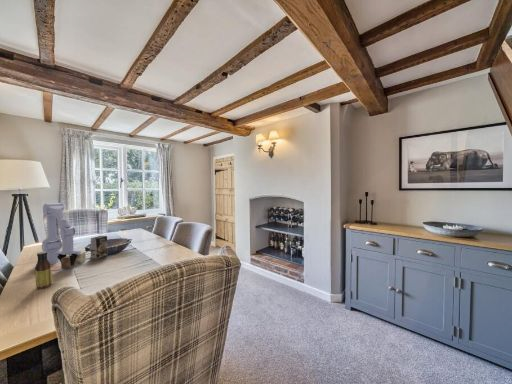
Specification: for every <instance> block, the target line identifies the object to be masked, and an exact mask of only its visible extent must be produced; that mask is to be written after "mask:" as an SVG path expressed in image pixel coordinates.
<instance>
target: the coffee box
mask: <svg viewBox="0 0 512 384" xmlns="http://www.w3.org/2000/svg"><path fill="white" fill-rule="evenodd" d="M103 248H107V249H108V236H107V235H97V236H95V237H91V238H90V259H96V260H97V259H100V258H103V257H105V256H108V253H107V254H106V253H105V252H104V251H102V250H101V249H103Z"/></svg>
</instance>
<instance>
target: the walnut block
mask: <svg viewBox="0 0 512 384" xmlns="http://www.w3.org/2000/svg"><path fill="white" fill-rule="evenodd" d="M69 256H70V255H68V256H67V255H66V257H64V258H61V262H60V263H61V269H70V268H72V267H74V266H75V263H74V265H72V266H71V260H70V257H69Z"/></svg>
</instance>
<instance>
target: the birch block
mask: <svg viewBox="0 0 512 384" xmlns="http://www.w3.org/2000/svg"><path fill="white" fill-rule="evenodd" d="M85 260H86V251H81V254H79V255H78V256H77V258H76V260H75V264H81V263H83V262H85Z"/></svg>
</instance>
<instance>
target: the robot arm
mask: <svg viewBox="0 0 512 384" xmlns="http://www.w3.org/2000/svg"><path fill="white" fill-rule="evenodd" d="M64 209H65V206H64V203H63V202H53V203H44V204H43V206H42V214H43V215H44V216H45V218H46V231H47V232H46V235H47V237H46V238H45V239H44V240H43V241H42V242H41V243H42V244H41V251H42V252H45V251H46V252H47V260H48V261H49V262H50V265H55V264H57V263H59V262H60V263H61V258H64V257H66V256H67V255H68V256H69V257H70V260H71V266H72V265H74V263H75V260H76V258H77V256H78V255H79V254H81V252H82V251H81V250H75V249H74V236H75V234H76V229H75V227H74V226H73V225H71V224H70V221H69V220H68V219H67V218H66V217H65V215H64ZM57 226H58V227H59V228H58V229H59V230H60V231H59V235H60V237H59V236H58V235H57Z"/></svg>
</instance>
